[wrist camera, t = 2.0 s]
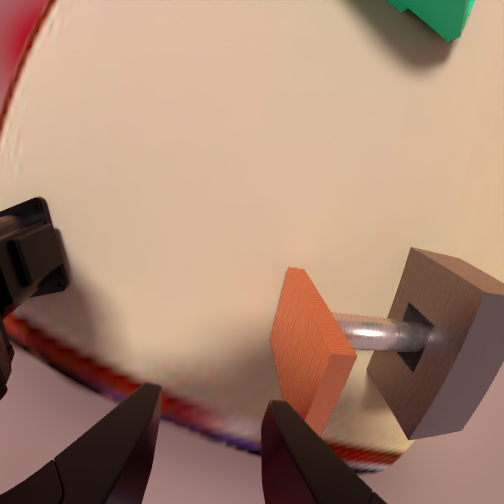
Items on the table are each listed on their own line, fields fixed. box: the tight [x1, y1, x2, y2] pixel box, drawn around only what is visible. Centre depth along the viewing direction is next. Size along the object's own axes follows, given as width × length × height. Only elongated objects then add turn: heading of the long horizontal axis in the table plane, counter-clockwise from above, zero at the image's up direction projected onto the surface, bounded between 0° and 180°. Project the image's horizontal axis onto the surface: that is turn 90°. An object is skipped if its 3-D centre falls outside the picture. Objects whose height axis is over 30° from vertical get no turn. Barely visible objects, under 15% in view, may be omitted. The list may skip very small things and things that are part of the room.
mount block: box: [367, 247, 504, 440], centre depth 18 cm, size 5×10×8 cm, turn 169°
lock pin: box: [270, 267, 435, 437], centre depth 16 cm, size 13×5×9 cm, turn 79°
